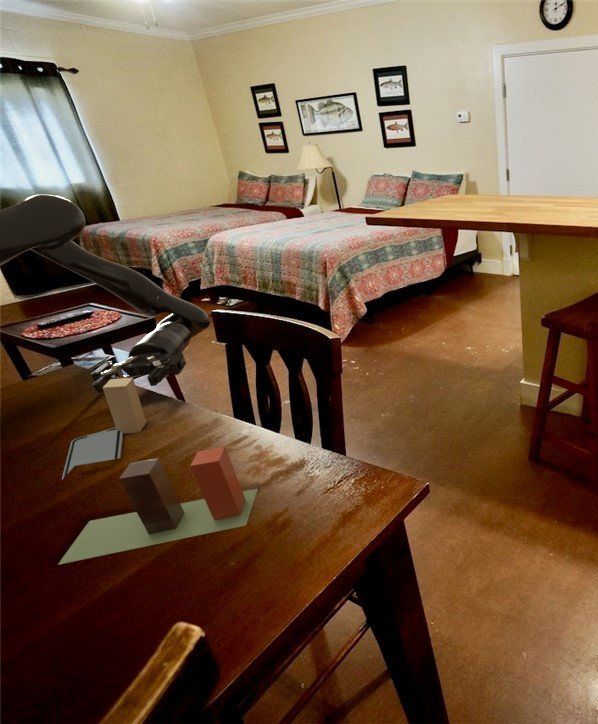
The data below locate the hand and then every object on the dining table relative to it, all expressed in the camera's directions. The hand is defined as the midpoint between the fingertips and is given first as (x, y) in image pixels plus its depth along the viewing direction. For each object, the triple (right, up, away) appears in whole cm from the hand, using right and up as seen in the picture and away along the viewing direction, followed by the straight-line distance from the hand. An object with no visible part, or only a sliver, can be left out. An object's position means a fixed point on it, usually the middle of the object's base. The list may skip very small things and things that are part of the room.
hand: (125, 385), depth 90 cm
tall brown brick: (+26, -19, -22) cm, 39 cm away
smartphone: (+1, -12, -7) cm, 14 cm away
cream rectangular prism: (+1, -8, +1) cm, 8 cm away
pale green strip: (+26, -20, -22) cm, 39 cm away
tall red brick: (+33, -18, -20) cm, 43 cm away
